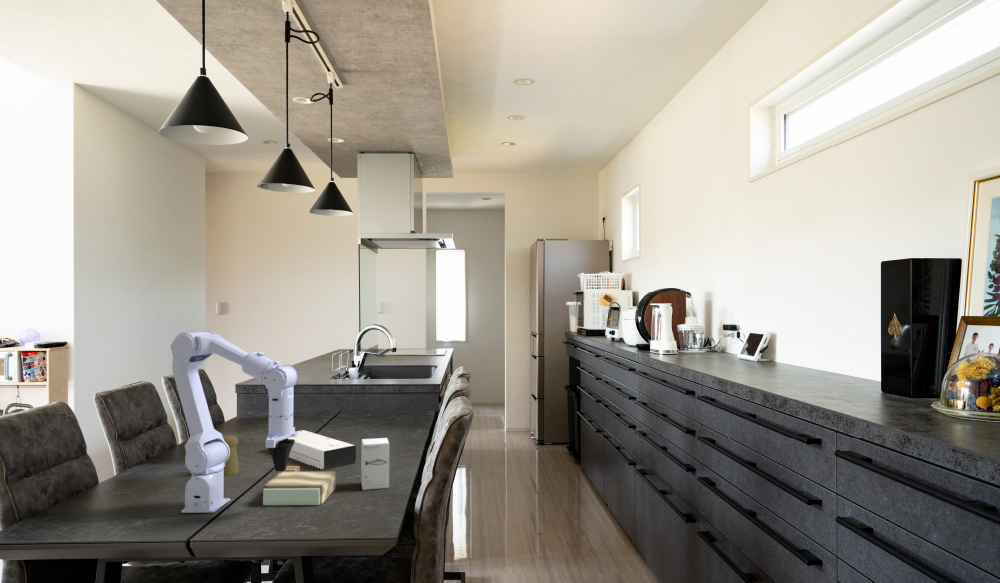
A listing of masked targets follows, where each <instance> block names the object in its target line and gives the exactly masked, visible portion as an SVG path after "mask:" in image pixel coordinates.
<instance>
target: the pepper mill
mask: <svg viewBox="0 0 1000 583" xmlns="http://www.w3.org/2000/svg"><path fill="white" fill-rule="evenodd" d="M223 439H224V441H225V442H226V443H227V444H228V446H229V449H230V456H229V458H228V460H227V461H226V462H225V467H224V475H226V476H232V474H233V475H236V473H237V474H239V473H240V467H239V460H238V452H237V451H238V450H237V446H238V444H239V439H238V437H237V436H235V435H225V436H223ZM238 472H239V473H238Z"/></svg>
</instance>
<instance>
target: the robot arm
mask: <svg viewBox="0 0 1000 583" xmlns="http://www.w3.org/2000/svg"><path fill="white" fill-rule="evenodd" d="M170 349H171V353H172V366H171V367H172V368H171V369H172V370H171V372H172V373H173V378H174V381H175V385H176V389H177V392H178V396H179V399H180V403H181V407H182V411H183V414H184V417H185V422H186V424H187V428H188V431H189V435H190V436H189V438H188V440H187V441H186V442H185V445H184V449H185V457H184V462H185V467H186V468H187V470H189V472H190V473H189V474H191V477H190V479H189V480H188V481H187V482H186V485H185V486H184V487H185V488H184V493H185V494H184V508H182V510H181V511H180V512H181V513H182V514H183V513H184V514H185V513H187V514H188V513H189V514H191V513H192V514H193V513H195V514H196V513H202V514H203V513H206V514H207V513H215V512H216V511H217V510H219V509H220V508H221V507H223V506H224V505H225V504H227V503H228V502H229V501H230V500H231V498H229V497H228V498H226V497H224V491H225V490H224V486H225V485H224V483H225V482H224V481H225V480H224V467H225V462H226V461H227V460H228V458H229V456H230V449H229V446H228V444H227V443H226V442H225V441H224V439H223V437H224V436H223V434H222V433H221V432H220V431H217V430H216V429H215V427H214V424H213V421H212V417H211V415H210V414H211V413H210V410H209V406H208V402H207V398H206V395H205V392H204V389H203V385H202V382H201V378H200V374H199V369H200V367H201V366H202V365H203V363H204V362H205V361H207V359H209V358H210V357H211V356H212V355H213V354H215V355H217V356H219V357H222V358H224V359H226V360H228V361H230V362H233V363H235V364H237V365H240V366H241V370H242V372H243V373H244V374H246V375H248V376H250V377H252V378H254V379H255V380H258V381H260V382H261V383H263V384H264V386H265V388H266V389H267V396H268V433H267V437H266V439H265V448H266V449H268V452H269V454H270V455H271V459H272V462H273V466H274V470H275V472H281V471H285V470H286V467H287V466H288V463H289V458H290V457H289V454H290V451H291V449H292V446H293V445H294V443H295V440H294V439H288V438H290V437H296V436H297V435H298V432H295V431H296V427H295V426H294V395H295V394H294V393H295V392H294V391H295V390H294V389H295V387H294V386H296V385H297V384H298V381H299V380H298V379H299V373H298V371H297V370H296V368H295V367H294V366H292V365H291V364H284V365H282V364H281V361H278V360H275V361H274V360H272V359H271V358H269V357H267V356H266V354H265V353H264V352H263V351H259V352H257V351H254V352H253V351H252V352H251V353H249V352H247V351H245V350H243V349H241V347H238V346H236V345H235V344H233V343H232V342H230V341H228V340H226V339H225V338H223V337H222V335H221V334H217V333H215V332H213V331H211V330H206V331H205V330H204V331H197V332H195V331H194V332H193V331H192V332H181V333H178V334H177V335H176V336H175V338H174V339H173V341H172V342H171V344H170Z"/></svg>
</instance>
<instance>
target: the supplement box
mask: <svg viewBox="0 0 1000 583" xmlns="http://www.w3.org/2000/svg"><path fill="white" fill-rule="evenodd" d="M388 439H389V438H388V437H380V438H379V437H378V438H362V439H361V442H360V444H361V446H360V447H361V449H360V450H361V452H360V454H361V457H360V459H361V460H360V461H361V462H360V463H361V464H360V466H361V468H360V472H361V473H360V483H361V488H362V491H366V490H377V489H378V490H379V489H389V488H390V442H389V440H388Z"/></svg>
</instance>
